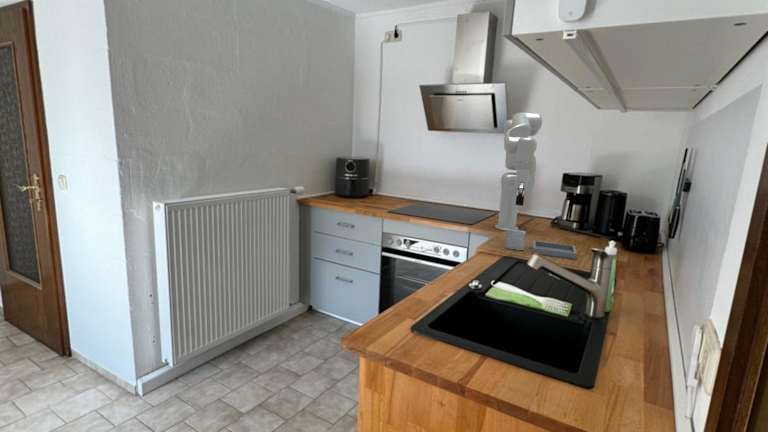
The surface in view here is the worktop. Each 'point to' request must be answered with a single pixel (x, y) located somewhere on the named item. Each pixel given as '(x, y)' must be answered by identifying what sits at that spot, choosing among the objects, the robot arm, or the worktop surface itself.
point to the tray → (555, 250)
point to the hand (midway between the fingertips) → (519, 203)
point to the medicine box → (515, 239)
